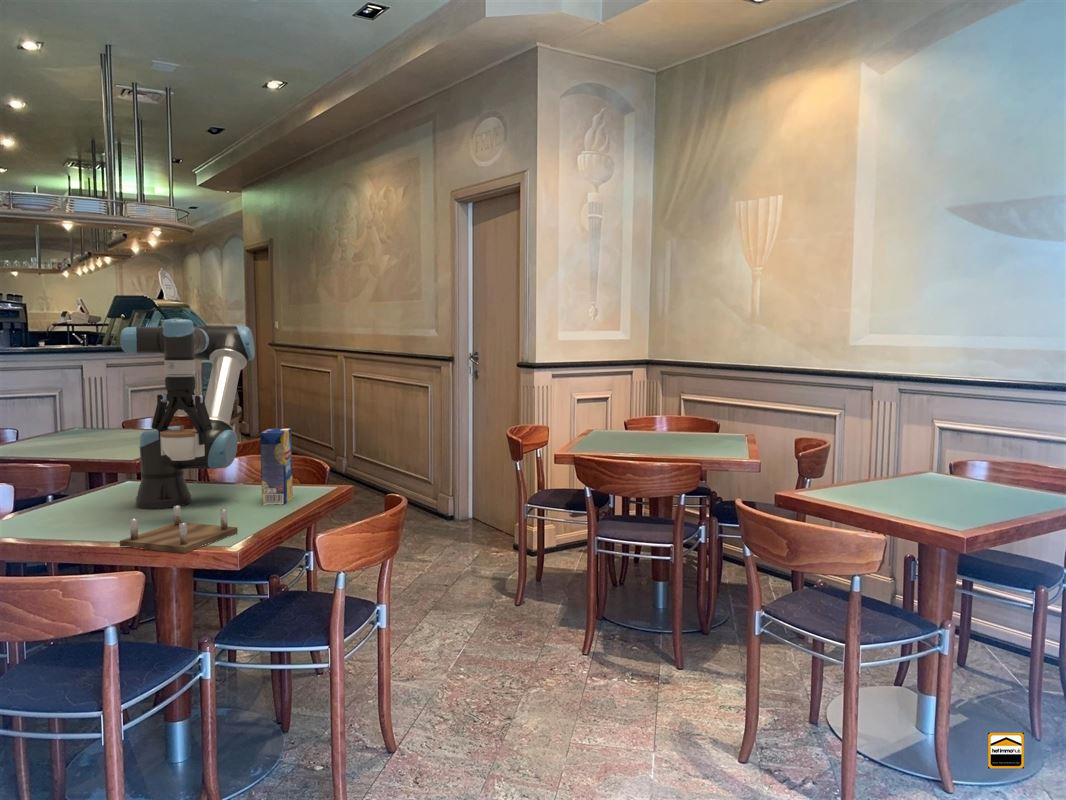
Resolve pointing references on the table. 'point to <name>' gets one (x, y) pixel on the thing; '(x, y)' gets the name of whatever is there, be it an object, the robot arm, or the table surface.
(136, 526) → the corner pegs
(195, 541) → the peg board
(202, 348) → the robot arm
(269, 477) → the beverage box
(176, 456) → the lidded jar
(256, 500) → the table surface
